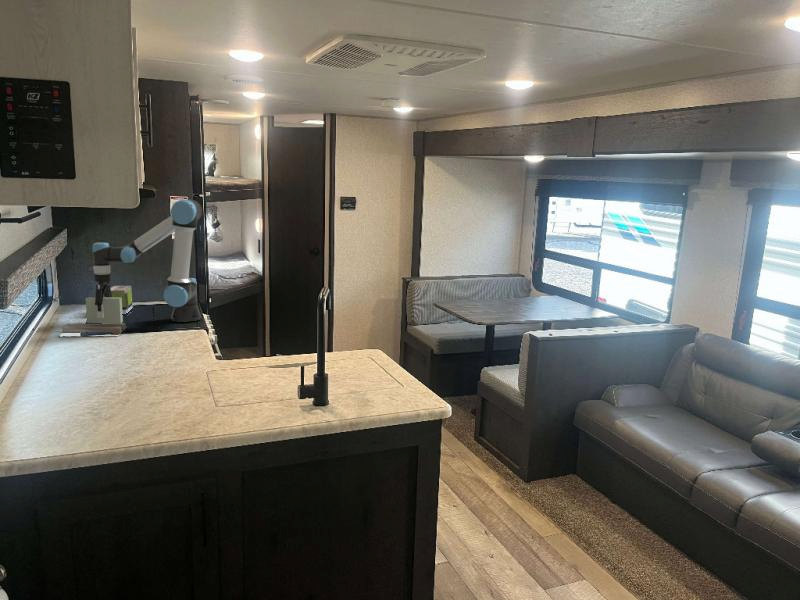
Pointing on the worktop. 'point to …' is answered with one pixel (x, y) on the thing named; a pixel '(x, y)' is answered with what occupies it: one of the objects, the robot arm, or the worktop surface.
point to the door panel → (105, 310)
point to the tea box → (123, 297)
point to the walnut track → (95, 328)
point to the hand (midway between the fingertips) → (104, 314)
